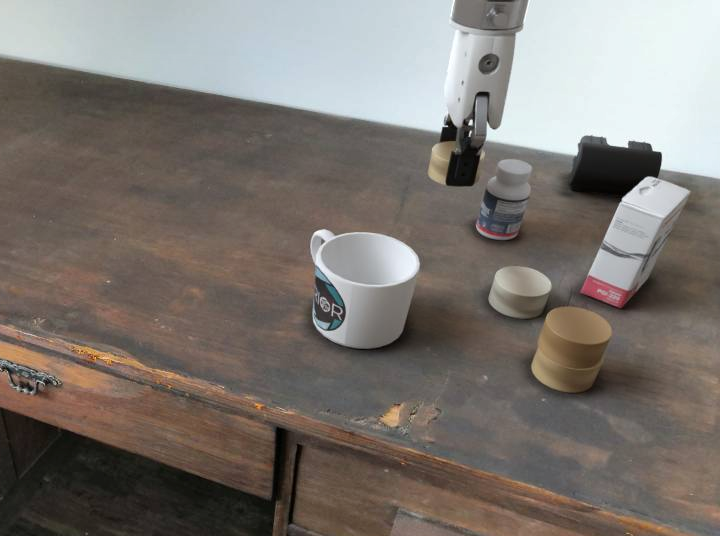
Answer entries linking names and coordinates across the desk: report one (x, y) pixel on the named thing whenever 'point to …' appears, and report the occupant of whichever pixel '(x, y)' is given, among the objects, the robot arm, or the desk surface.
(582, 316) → the chip pile
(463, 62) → the robot arm
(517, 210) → the pill bottle
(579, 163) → the end cap
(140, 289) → the desk surface
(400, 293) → the mug
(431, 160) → the maple chip
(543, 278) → the ash chip
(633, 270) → the ink box
